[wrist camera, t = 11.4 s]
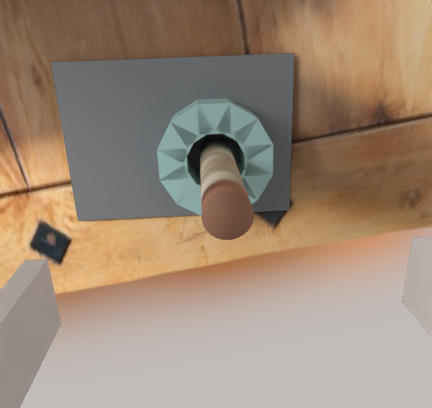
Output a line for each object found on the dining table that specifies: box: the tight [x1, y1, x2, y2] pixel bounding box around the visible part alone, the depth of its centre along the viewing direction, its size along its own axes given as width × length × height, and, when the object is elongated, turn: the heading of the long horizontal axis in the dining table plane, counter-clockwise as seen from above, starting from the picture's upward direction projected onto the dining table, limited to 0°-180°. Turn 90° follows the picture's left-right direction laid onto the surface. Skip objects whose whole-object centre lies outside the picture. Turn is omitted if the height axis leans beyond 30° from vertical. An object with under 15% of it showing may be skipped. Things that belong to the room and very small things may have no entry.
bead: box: [157, 98, 273, 216], centre depth 33 cm, size 9×9×4 cm
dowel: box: [200, 137, 254, 240], centre depth 28 cm, size 3×3×15 cm
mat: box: [51, 53, 294, 221], centre depth 35 cm, size 20×14×1 cm
